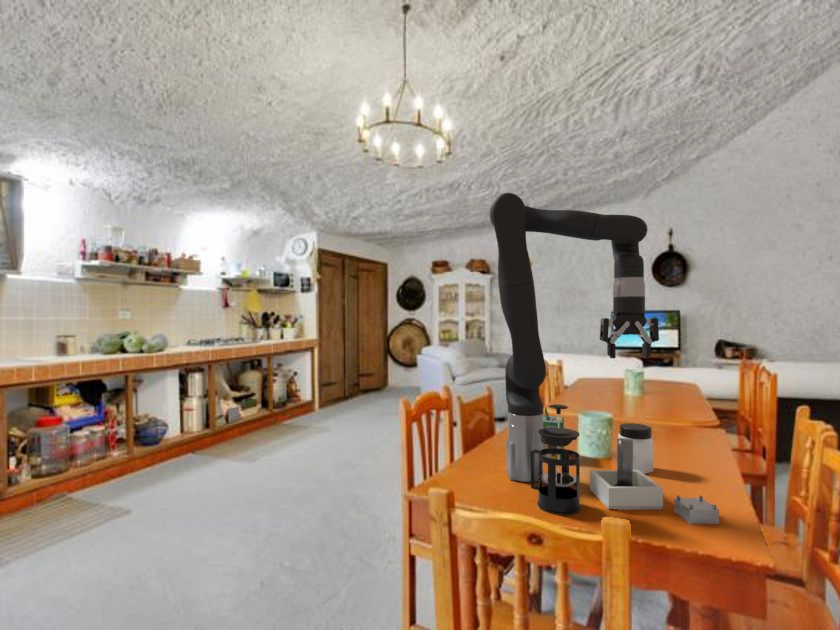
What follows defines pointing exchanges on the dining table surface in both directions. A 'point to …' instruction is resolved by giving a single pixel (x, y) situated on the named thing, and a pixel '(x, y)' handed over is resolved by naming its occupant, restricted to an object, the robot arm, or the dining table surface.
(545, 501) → the french press
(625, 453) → the grey metal flanged cylinder
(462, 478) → the dining table surface
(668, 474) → the dining table surface
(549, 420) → the chalk box
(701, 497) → the stud mount
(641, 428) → the jar
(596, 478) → the bin
